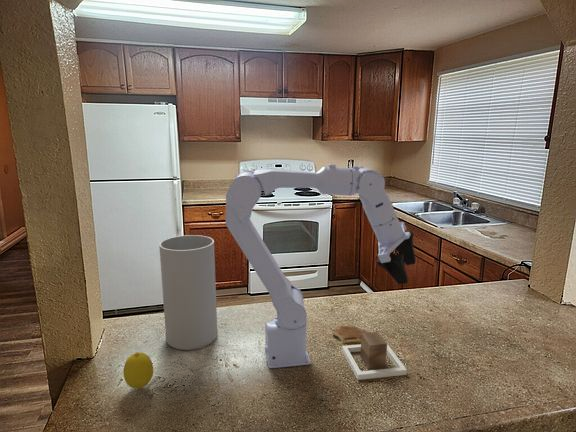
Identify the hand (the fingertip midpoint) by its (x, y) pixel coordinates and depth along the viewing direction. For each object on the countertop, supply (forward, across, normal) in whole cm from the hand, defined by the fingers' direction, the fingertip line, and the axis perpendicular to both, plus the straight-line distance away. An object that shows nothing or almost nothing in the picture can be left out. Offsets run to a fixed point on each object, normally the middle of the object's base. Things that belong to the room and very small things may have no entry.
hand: (407, 272), depth 85 cm
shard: (+15, -2, +20) cm, 25 cm away
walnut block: (+15, -11, +11) cm, 22 cm away
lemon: (-7, -42, +44) cm, 61 cm away
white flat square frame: (+15, -11, +11) cm, 22 cm away
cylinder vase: (-4, -23, +50) cm, 55 cm away
